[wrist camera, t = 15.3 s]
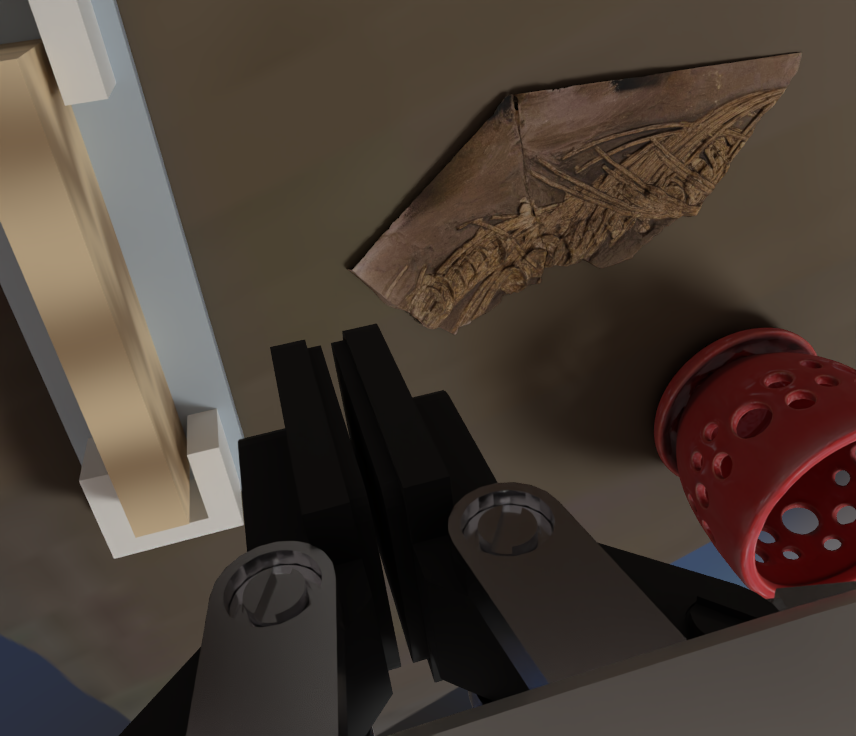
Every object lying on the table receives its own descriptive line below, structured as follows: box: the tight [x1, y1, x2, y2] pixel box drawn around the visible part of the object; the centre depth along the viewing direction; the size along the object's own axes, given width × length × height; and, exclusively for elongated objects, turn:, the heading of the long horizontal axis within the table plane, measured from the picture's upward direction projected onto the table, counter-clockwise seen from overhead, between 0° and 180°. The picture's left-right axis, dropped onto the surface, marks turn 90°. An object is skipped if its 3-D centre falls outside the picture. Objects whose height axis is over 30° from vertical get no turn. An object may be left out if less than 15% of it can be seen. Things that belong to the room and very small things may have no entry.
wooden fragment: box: [348, 52, 802, 335], centre depth 39 cm, size 26×11×1 cm, turn 109°
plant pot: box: [654, 328, 856, 599], centre depth 44 cm, size 13×13×12 cm
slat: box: [0, 38, 190, 538], centre depth 31 cm, size 20×2×6 cm, turn 6°
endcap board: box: [0, 0, 244, 559], centre depth 33 cm, size 27×8×4 cm, turn 6°
